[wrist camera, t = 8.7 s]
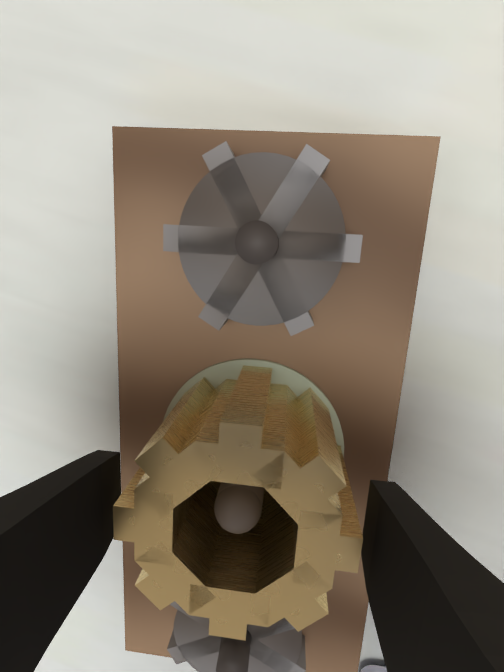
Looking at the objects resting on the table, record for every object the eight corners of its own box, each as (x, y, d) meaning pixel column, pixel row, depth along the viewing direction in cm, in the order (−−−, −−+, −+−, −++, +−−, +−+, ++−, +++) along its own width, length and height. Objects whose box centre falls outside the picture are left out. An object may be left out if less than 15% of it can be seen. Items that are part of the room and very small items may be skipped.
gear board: (349, 645, 16) (376, 830, 11) (140, 615, 17) (74, 774, 12) (421, 150, 12) (521, 75, 6) (133, 140, 12) (23, 66, 7)
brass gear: (328, 533, 13) (344, 656, 9) (166, 512, 13) (115, 620, 9) (349, 375, 12) (378, 439, 8) (169, 358, 12) (110, 410, 8)
